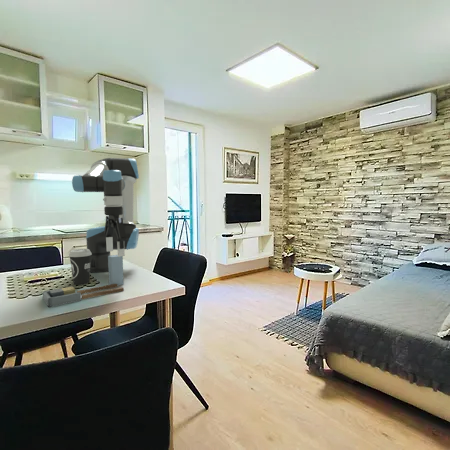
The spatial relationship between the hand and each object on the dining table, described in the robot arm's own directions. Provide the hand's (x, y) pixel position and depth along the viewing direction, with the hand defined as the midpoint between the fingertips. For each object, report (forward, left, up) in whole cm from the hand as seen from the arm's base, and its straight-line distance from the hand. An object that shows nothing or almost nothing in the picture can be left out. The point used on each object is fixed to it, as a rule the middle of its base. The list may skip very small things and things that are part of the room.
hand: (115, 253), depth 131 cm
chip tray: (+8, -24, -14) cm, 28 cm away
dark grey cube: (+7, -25, -14) cm, 30 cm away
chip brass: (+7, -21, -14) cm, 26 cm away
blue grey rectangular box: (0, 0, -14) cm, 14 cm away
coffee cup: (-12, -11, -14) cm, 22 cm away
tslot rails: (+8, -9, -14) cm, 18 cm away
